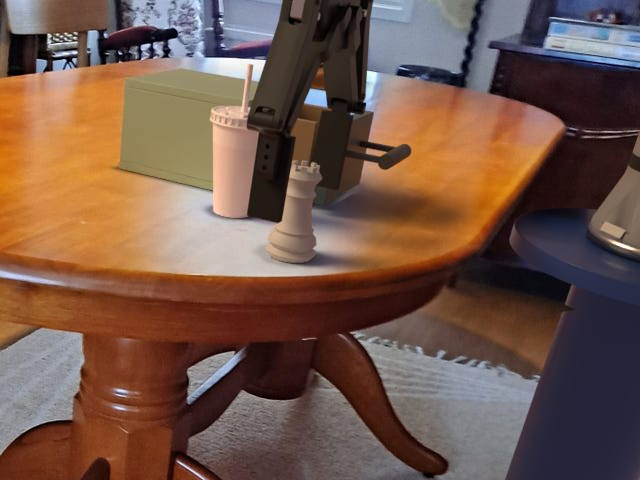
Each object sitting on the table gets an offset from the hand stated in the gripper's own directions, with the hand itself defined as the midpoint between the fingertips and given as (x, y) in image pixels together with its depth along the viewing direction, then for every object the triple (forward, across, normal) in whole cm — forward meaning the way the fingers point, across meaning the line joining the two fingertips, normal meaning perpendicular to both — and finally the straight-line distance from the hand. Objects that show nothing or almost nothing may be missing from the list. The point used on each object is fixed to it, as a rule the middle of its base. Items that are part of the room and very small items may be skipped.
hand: (296, 201), depth 71 cm
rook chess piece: (+5, 0, 0) cm, 5 cm away
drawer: (+4, -20, -6) cm, 21 cm away
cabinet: (+5, -20, -19) cm, 28 cm away
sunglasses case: (+5, -103, -35) cm, 109 cm away
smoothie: (+5, -8, -9) cm, 13 cm away
